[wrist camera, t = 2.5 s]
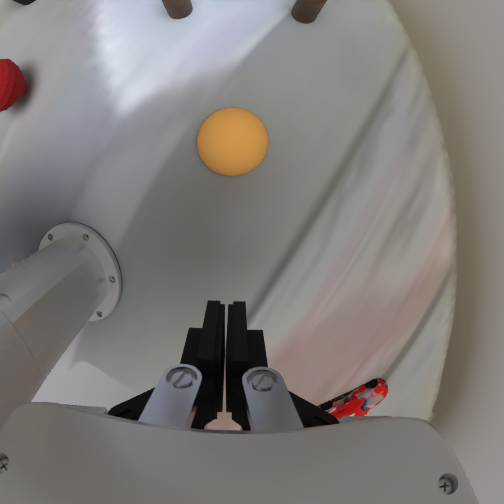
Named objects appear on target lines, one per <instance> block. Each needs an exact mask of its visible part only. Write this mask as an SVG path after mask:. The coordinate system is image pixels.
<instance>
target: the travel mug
mask: <svg viewBox="0 0 504 504" xmlns="http://www.w3.org/2000/svg"><path fill="white" fill-rule="evenodd" d="M13 1H15V2H18V3H20V4H22V5H28V4H30V3H32V2H33V1H35V0H13Z"/></svg>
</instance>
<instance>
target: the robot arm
mask: <svg viewBox="0 0 504 504" xmlns="http://www.w3.org/2000/svg"><path fill="white" fill-rule="evenodd" d="M121 287H122V281H121V273H120V269H119V266H118V263H117V260H116V258H115V256H114V254H113V252H112V250H111V249H110V247H109V246H108V244H107V243H106V242H105V241H104V240H103V238H102V237H101V236H100V235H98V234H97V233H96V232H95V231H94V230H92V229H90V228H89V227H87V226H85V225H82V224H79V223H74V222H66V223H61V224H59V225H57V226H55V227H53V228H51V229H50V230H49V231H48V232H47V233H46V234H45V235H44V237H43V238H42V240H41V242H40V245H39V248H38V251H37V252H35V253H34V254H32V255H30V256H29V257H27V258H25V259H24V260H22V261H19V260H14V261H12V263H11V267H10V269H8V270H7V271H5V272H4V273H2V274H1V275H0V504H479V502H478V500H477V497H476V495H475V493H474V490H473V488H472V486H471V484H470V482H469V479H468V478H467V476H466V473H465V471H464V469H463V467H462V465H461V463H460V461H459V459H458V458H457V456H456V454H455V452H454V451H453V449H452V447H451V446H450V444H449V443H448V441H447V440H446V438H445V437H444V436H443V434H442V433H441V432H440V431H439V430H438V429H437V428H436V427H435V426H434V425H433V424H432V423H430V422H428V421H426V420H423V419H419V418H413V417H392V416H343V417H342V419H340V418H336V417H335V416H334V415H332V414H331V413H329V412H327V411H325V410H323V409H321V408H319V407H317V406H315V405H313V404H312V403H310V402H308V401H306V400H304V399H302V398H301V397H299V396H297V395H295V394H293V393H292V392H290V391H288V389H287V387H286V384H285V382H284V380H283V377H282V376H281V374H280V373H279V372H277V371H276V370H274V369H272V368H268V364H267V357H266V350H265V343H264V336H263V330H247V322H246V303H245V302H239V301H233V304H229V305H228V322H227V340H226V412H232V420H234V421H235V422H236V423H238V424H239V425H240V426H241V431H234V430H209V429H207V424H208V423H209V422H211V421H212V420H214V419H217V412H222V408H223V385H224V364H225V304H220V301H208V302H207V307H206V312H205V318H204V323H203V328H189V330H188V334H187V338H186V342H185V346H184V350H183V354H182V358H181V362H180V364H177V365H173V366H170V367H169V368H167V369H166V370H165V371H164V372H163V374H162V376H161V378H160V380H159V382H158V383H157V385H156V387H155V388H153V389H151V390H148V391H146V392H144V393H142V394H140V395H138V396H136V397H134V398H132V399H130V400H127V401H125V402H123V403H120V404H118V405H116V406H114V407H113V408H111V409H110V410H106V408H105V407H90V406H76V405H66V404H58V403H50V402H31V401H32V399H33V398H34V396H35V395H36V393H37V391H38V390H39V388H40V387H41V385H42V384H43V382H44V381H45V379H46V378H47V376H48V375H49V373H50V372H51V370H52V369H53V367H54V366H55V364H56V363H57V362H58V360H59V359H60V357H61V356H62V355H63V353H64V352H65V350H66V349H67V348H68V346H69V345H70V344H71V342H72V341H73V339H74V338H75V337H76V336H77V334H78V333H79V332H80V330H81V329H82V328H83V326H84V325H85V324H86V322H94V321H99V320H101V319H104V318H105V317H107V316H108V315H109V314H110V313H111V312H112V311H113V309H114V308H115V307H116V305H117V303H118V301H119V298H120V295H121Z"/></svg>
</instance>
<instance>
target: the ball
mask: <svg viewBox="0 0 504 504" xmlns="http://www.w3.org/2000/svg"><path fill="white" fill-rule="evenodd" d="M197 148H198V152H199V155H200V157H201V159H202V161H203V162H204V163H205V164H206V165H207V166H208V167H209V168H210V169H211V170H213V171H215V172H217V173H219V174H222V175H226V176H238V175H242V174H245V173H248V172H250V171H251V170H253V169H254V168H256V167H257V166H258V165H259V164H260V163H261V161H262V160H263V158H264V157H265V154H266V152H267V148H268V134H267V131H266V128H265V126H264V124H263V123H262V121H261V120H260V119H259V118H258V117H257V116H256V115H255V114H253V113H252V112H250V111H248V110H245V109H241V108H225V109H221V110H219V111H216V112H215V113H213V114H212V115H210V116H209V117H208V118H207V119H206V120H205V121H204V122H203V124H202V126H201V127H200V130H199V132H198V136H197Z"/></svg>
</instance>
